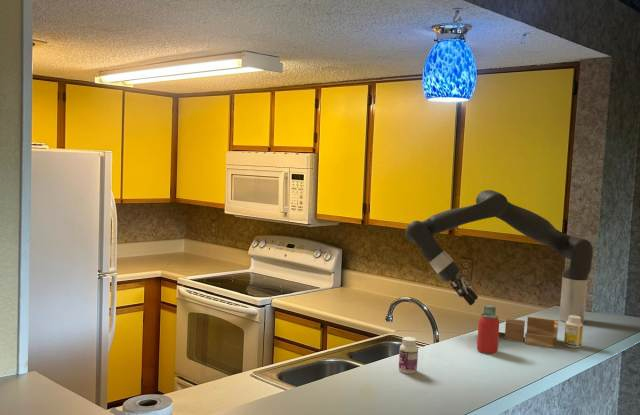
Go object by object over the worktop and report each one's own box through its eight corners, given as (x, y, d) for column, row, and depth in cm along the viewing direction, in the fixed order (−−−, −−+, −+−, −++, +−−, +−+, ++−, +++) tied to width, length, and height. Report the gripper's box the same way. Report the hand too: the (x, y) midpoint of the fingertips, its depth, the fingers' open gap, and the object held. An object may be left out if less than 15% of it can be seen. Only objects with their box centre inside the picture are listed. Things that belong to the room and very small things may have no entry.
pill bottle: (394, 368, 186) (396, 336, 185) (410, 367, 188) (412, 335, 187) (404, 375, 181) (406, 342, 180) (420, 373, 183) (422, 340, 182)
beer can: (472, 351, 206) (475, 314, 205) (482, 347, 211) (485, 311, 210) (491, 356, 202) (493, 319, 201) (501, 351, 206) (503, 315, 205)
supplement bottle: (576, 343, 220) (578, 314, 219) (584, 348, 214) (586, 318, 213) (560, 343, 219) (563, 314, 218) (568, 348, 214) (571, 318, 213)
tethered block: (483, 331, 230) (485, 304, 229) (523, 337, 225) (525, 309, 224) (481, 335, 224) (483, 307, 224) (522, 341, 219) (524, 313, 218)
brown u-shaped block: (526, 335, 227) (527, 316, 226) (556, 339, 223) (558, 320, 223) (524, 343, 217) (526, 323, 216) (556, 348, 213) (557, 327, 213)
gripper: (449, 262, 222) (480, 299, 219) (455, 257, 236) (485, 291, 232) (433, 275, 225) (463, 312, 222) (440, 269, 238) (469, 303, 235)
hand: (474, 301), depth 227 cm, fingers open, 8 cm apart
